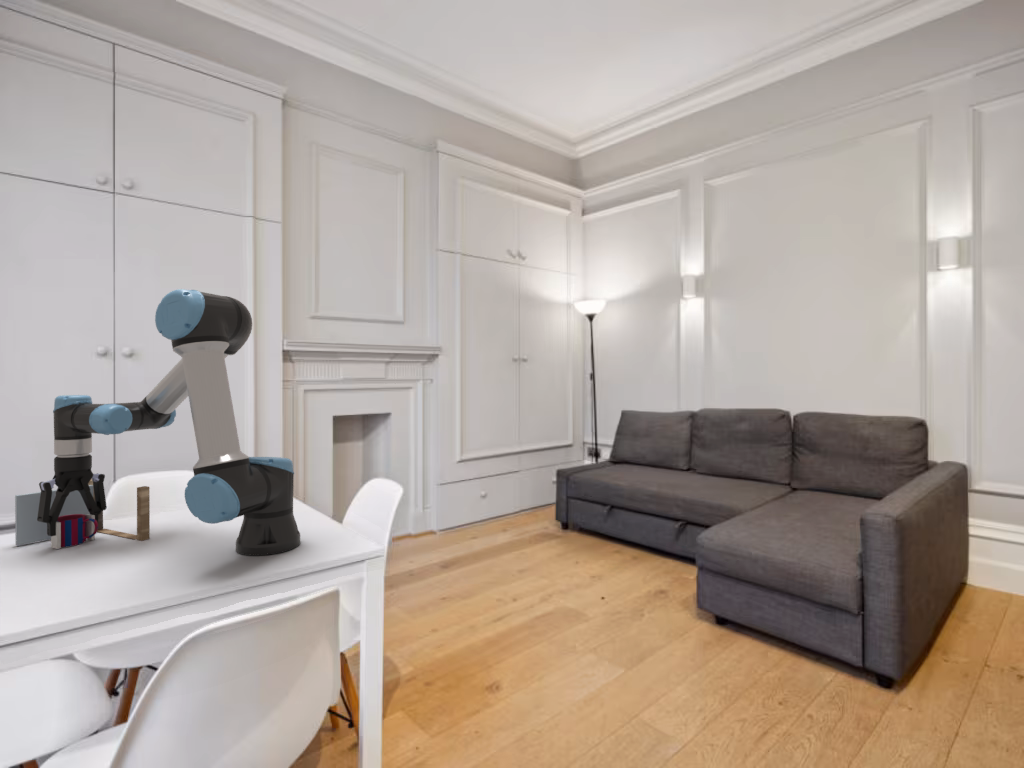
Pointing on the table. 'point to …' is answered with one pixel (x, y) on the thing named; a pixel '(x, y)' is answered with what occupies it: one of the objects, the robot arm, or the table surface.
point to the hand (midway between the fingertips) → (73, 543)
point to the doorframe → (142, 517)
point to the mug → (74, 529)
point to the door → (28, 513)
